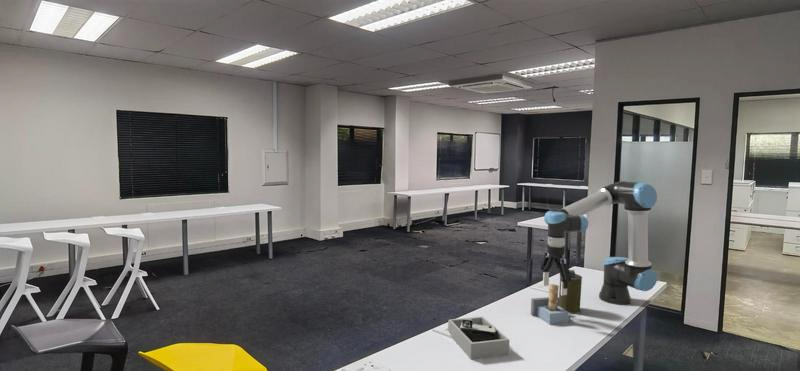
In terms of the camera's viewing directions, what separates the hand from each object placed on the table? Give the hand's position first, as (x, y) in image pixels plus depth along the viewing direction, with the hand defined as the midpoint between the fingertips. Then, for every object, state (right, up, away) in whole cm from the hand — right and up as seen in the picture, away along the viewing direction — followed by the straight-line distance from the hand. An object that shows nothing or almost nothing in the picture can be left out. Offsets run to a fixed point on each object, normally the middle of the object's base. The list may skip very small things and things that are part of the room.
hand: (554, 290), depth 193 cm
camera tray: (-41, -15, -25) cm, 51 cm away
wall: (-2, -14, +7) cm, 15 cm away
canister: (+12, -13, +14) cm, 23 cm away
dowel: (-1, -13, +1) cm, 13 cm away
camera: (-41, -15, -25) cm, 51 cm away
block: (-1, -14, +1) cm, 14 cm away
